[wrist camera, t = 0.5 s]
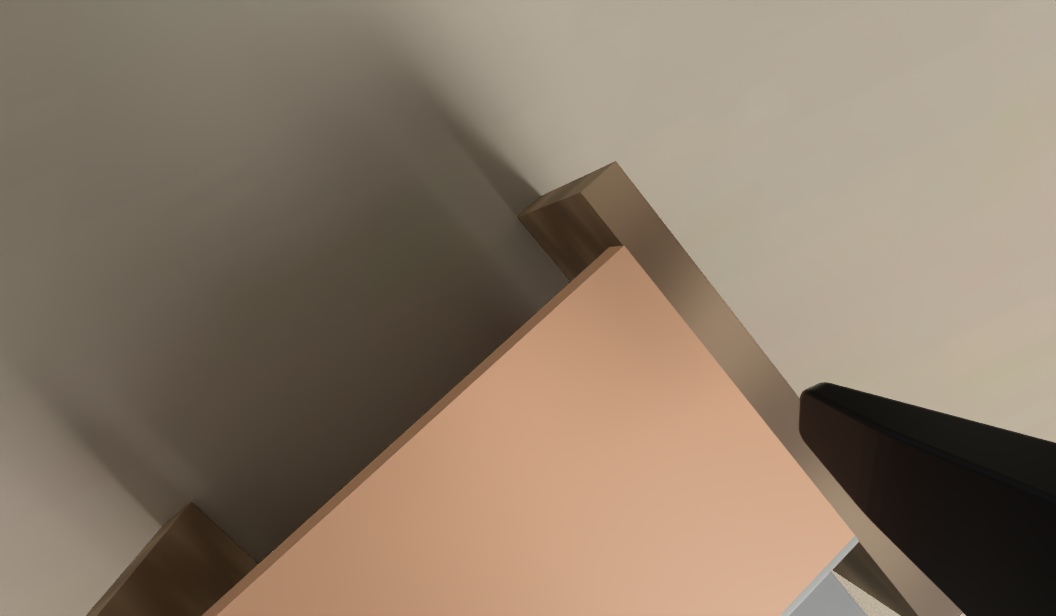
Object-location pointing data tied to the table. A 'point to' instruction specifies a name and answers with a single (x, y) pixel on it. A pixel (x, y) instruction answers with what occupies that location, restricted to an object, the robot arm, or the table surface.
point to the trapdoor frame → (573, 243)
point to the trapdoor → (572, 488)
